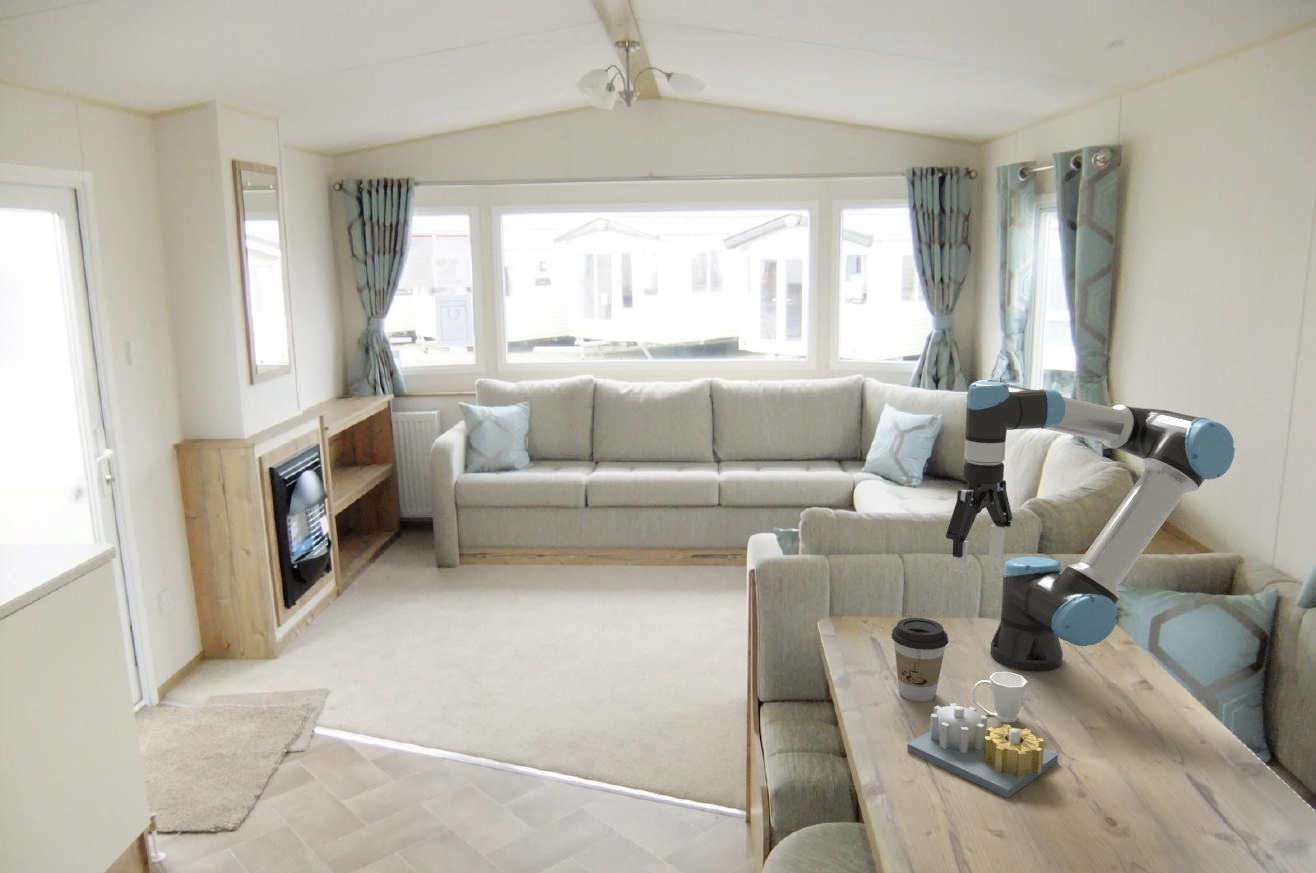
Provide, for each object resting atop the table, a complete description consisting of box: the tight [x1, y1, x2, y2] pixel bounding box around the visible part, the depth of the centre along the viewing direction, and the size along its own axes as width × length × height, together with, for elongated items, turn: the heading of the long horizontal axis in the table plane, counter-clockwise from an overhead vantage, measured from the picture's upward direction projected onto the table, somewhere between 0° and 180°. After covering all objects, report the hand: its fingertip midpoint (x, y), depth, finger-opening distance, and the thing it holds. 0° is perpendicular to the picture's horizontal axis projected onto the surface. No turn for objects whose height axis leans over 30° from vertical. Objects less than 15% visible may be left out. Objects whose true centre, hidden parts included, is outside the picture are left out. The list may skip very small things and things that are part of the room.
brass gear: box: [983, 724, 1045, 778], centre depth 165 cm, size 10×10×4 cm
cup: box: [971, 671, 1028, 723], centre depth 184 cm, size 7×10×8 cm
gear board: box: [907, 703, 1059, 799], centre depth 169 cm, size 17×20×8 cm
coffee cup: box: [890, 617, 949, 703], centre depth 193 cm, size 11×11×15 cm
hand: (977, 564), depth 187 cm, fingers open, 13 cm apart
